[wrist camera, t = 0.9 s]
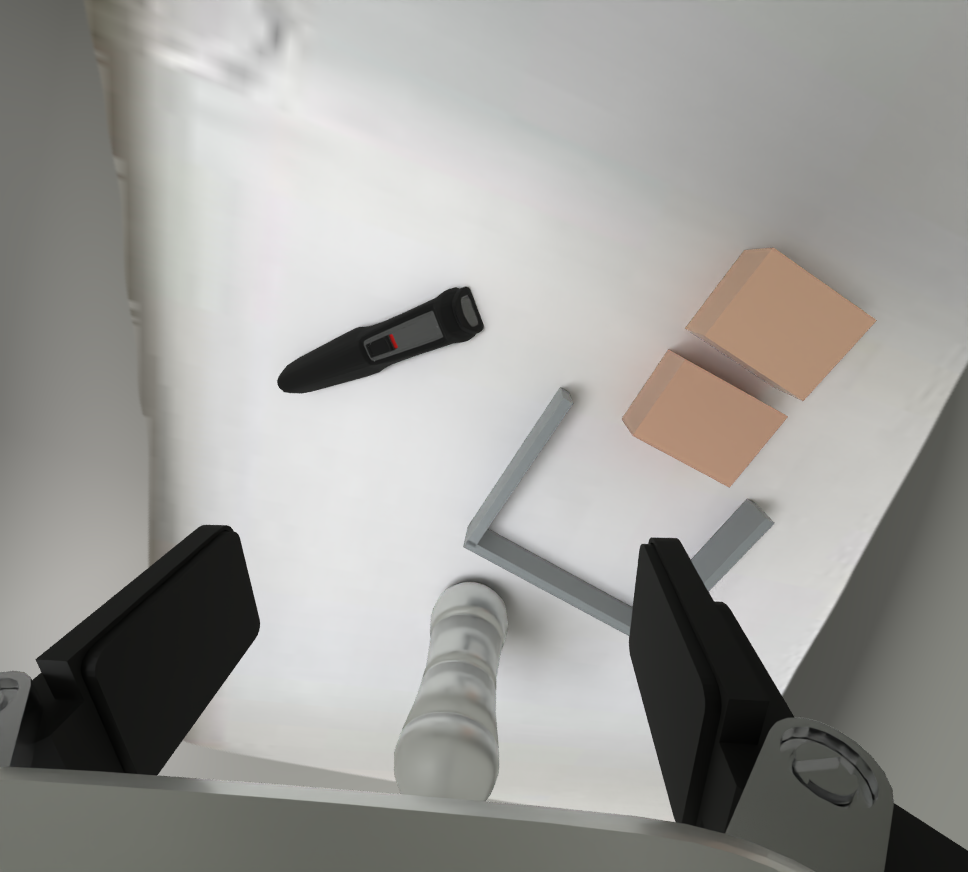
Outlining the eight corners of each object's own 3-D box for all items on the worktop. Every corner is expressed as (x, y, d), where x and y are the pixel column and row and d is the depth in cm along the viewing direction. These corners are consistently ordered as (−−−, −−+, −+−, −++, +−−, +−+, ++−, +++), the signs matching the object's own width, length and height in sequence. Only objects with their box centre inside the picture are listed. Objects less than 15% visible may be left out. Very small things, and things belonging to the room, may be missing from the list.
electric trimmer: (285, 353, 36) (263, 362, 33) (468, 281, 33) (462, 283, 30) (307, 397, 37) (288, 409, 34) (486, 331, 34) (482, 338, 31)
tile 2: (742, 250, 31) (773, 247, 27) (834, 314, 31) (876, 320, 28) (683, 328, 33) (704, 336, 29) (771, 386, 33) (802, 401, 30)
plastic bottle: (502, 635, 43) (486, 916, 24) (431, 621, 43) (362, 891, 25) (515, 579, 41) (508, 843, 22) (441, 565, 41) (371, 815, 22)
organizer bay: (560, 387, 34) (563, 397, 32) (755, 503, 36) (774, 523, 34) (467, 527, 39) (463, 546, 37) (644, 623, 41) (653, 648, 39)
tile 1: (667, 348, 33) (685, 359, 29) (759, 399, 34) (788, 416, 30) (620, 417, 35) (632, 435, 31) (708, 464, 36) (729, 487, 32)
